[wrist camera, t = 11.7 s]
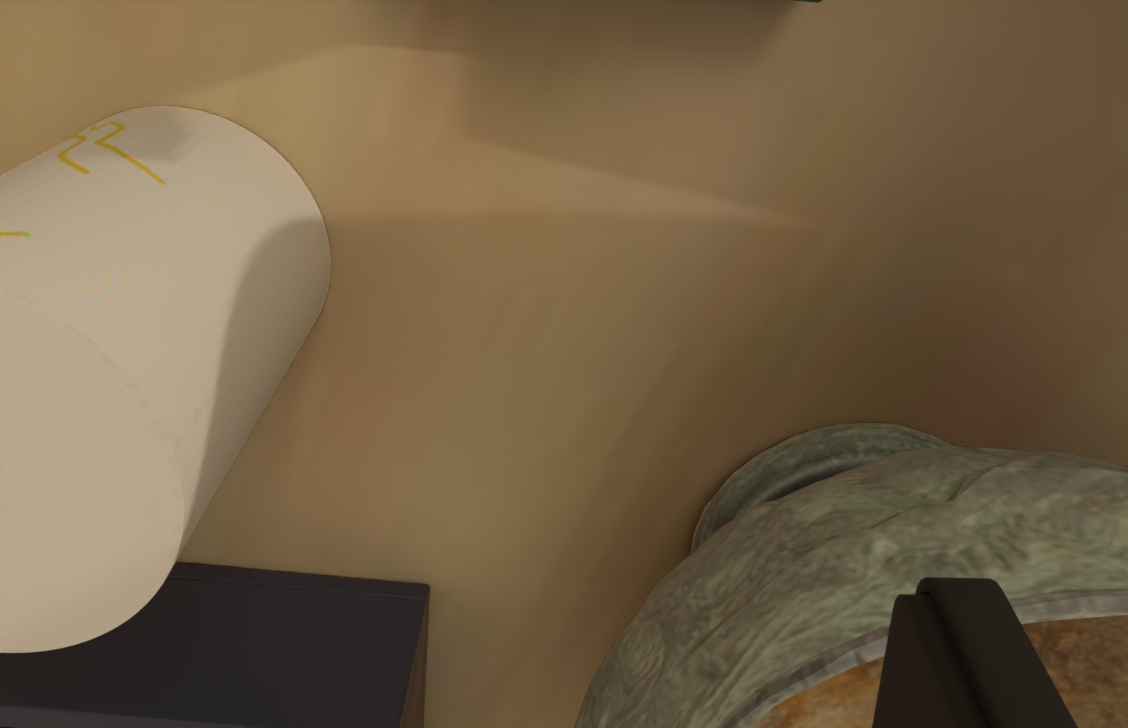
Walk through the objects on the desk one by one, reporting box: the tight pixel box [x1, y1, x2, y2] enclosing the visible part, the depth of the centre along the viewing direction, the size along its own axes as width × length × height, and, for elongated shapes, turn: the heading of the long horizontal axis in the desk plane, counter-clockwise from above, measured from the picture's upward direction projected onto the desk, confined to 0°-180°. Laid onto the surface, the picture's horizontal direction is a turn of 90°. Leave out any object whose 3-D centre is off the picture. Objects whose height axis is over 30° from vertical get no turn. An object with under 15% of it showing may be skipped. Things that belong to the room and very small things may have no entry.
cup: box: [0, 106, 331, 653], centre depth 24 cm, size 8×8×12 cm
